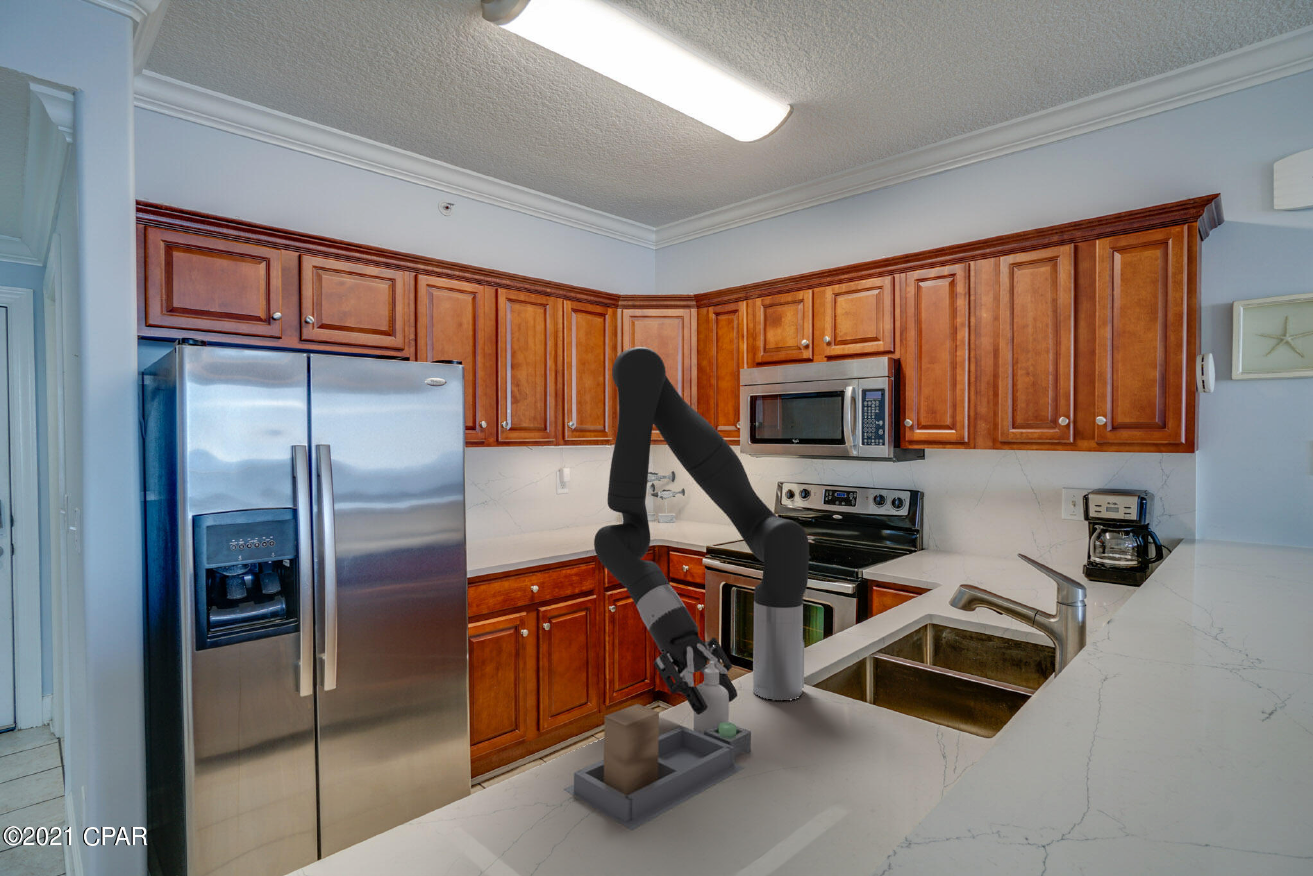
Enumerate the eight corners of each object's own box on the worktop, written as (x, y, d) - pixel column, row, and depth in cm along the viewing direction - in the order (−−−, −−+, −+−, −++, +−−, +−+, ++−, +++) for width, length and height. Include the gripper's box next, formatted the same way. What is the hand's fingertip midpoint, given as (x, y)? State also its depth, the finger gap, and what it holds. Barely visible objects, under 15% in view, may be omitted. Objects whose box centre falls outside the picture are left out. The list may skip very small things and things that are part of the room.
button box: (724, 747, 103) (724, 721, 103) (750, 758, 100) (750, 731, 100) (703, 757, 100) (704, 731, 100) (730, 769, 96) (730, 741, 96)
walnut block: (636, 777, 91) (637, 703, 91) (657, 788, 88) (658, 712, 88) (603, 793, 86) (604, 716, 86) (624, 805, 83) (625, 725, 84)
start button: (725, 739, 102) (726, 720, 102) (739, 744, 100) (739, 726, 100) (715, 744, 100) (715, 725, 100) (728, 750, 98) (729, 731, 98)
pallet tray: (676, 748, 103) (677, 722, 103) (744, 778, 94) (745, 749, 94) (563, 800, 87) (563, 769, 87) (631, 842, 78) (632, 808, 78)
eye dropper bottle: (713, 727, 111) (714, 655, 111) (731, 741, 106) (732, 665, 106) (690, 732, 109) (691, 658, 109) (708, 746, 104) (709, 669, 104)
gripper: (648, 612, 108) (702, 705, 99) (705, 598, 118) (759, 682, 110) (625, 638, 111) (675, 730, 103) (683, 623, 122) (733, 705, 113)
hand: (718, 705), depth 106 cm, fingers open, 7 cm apart
